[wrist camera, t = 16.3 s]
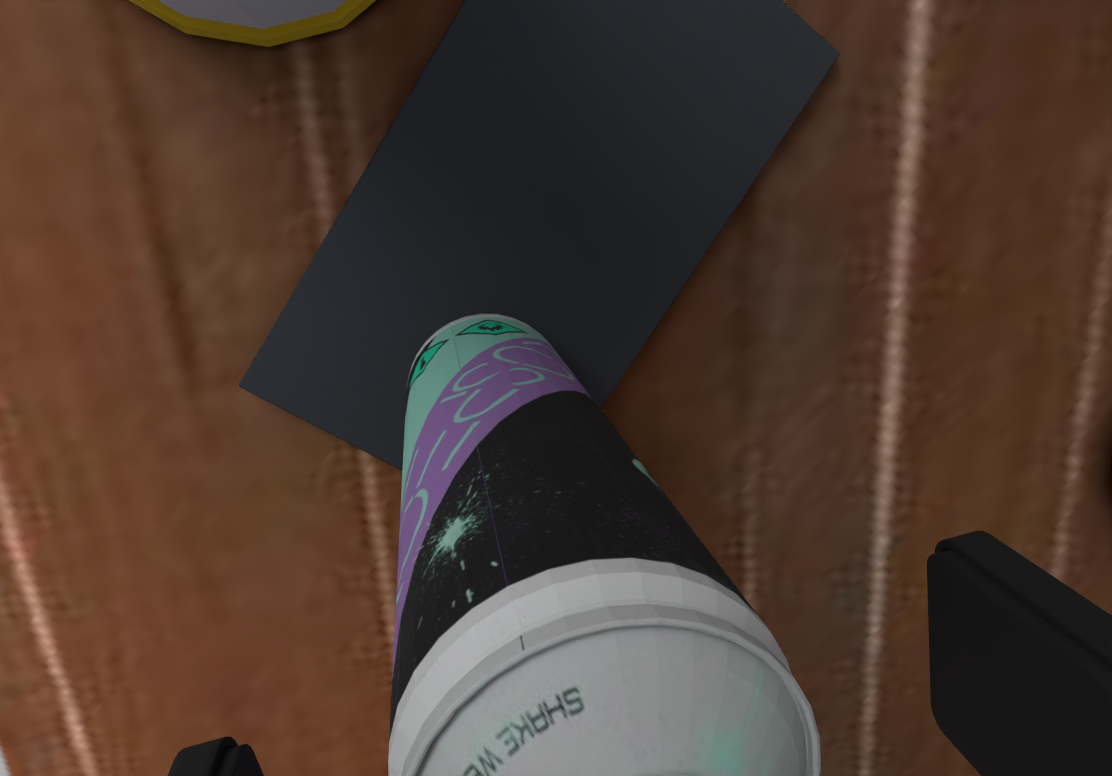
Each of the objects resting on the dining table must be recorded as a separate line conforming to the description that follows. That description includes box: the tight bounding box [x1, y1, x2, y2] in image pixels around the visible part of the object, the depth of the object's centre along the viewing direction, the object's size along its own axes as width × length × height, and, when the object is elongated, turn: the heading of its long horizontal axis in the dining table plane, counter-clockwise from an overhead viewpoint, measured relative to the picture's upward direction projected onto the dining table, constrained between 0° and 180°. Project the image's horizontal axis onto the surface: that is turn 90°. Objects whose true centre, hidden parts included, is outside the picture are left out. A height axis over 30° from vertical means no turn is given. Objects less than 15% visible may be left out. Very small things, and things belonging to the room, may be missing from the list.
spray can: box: [388, 314, 821, 776], centre depth 16 cm, size 6×6×20 cm
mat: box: [239, 0, 840, 471], centre depth 24 cm, size 11×20×1 cm, turn 146°
